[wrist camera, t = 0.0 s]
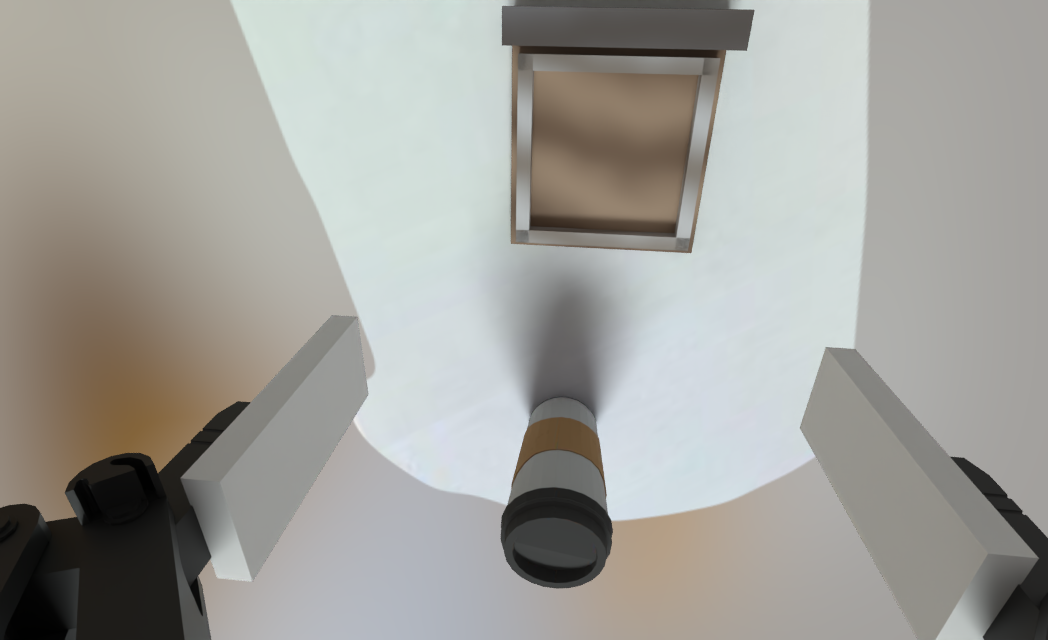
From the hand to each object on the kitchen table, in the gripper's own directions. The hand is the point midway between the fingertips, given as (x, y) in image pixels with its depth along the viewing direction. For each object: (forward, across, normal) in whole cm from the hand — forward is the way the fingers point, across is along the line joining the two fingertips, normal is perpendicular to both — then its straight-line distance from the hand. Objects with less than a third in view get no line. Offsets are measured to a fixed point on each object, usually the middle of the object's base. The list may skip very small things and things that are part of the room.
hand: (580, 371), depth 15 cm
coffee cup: (+28, 0, -24) cm, 37 cm away
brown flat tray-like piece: (+28, +2, +2) cm, 28 cm away
